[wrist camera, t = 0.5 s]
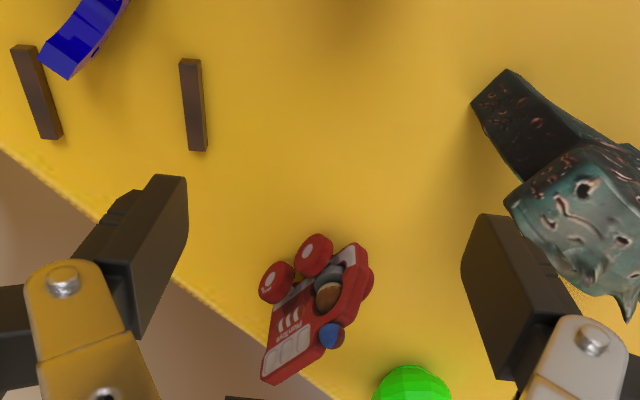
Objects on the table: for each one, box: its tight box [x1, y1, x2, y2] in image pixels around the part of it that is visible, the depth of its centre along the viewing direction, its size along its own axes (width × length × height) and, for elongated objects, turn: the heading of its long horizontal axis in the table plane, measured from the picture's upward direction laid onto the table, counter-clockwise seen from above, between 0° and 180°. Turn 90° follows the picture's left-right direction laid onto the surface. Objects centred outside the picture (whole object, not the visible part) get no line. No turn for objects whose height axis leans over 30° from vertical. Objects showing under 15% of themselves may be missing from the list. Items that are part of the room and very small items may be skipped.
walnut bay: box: [10, 45, 208, 152], centre depth 32 cm, size 7×13×1 cm, turn 85°
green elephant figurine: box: [470, 69, 640, 324], centre depth 26 cm, size 20×6×20 cm, turn 54°
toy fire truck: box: [258, 234, 374, 386], centre depth 39 cm, size 7×12×10 cm, turn 136°
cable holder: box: [36, 0, 131, 81], centre depth 27 cm, size 8×4×4 cm, turn 137°
